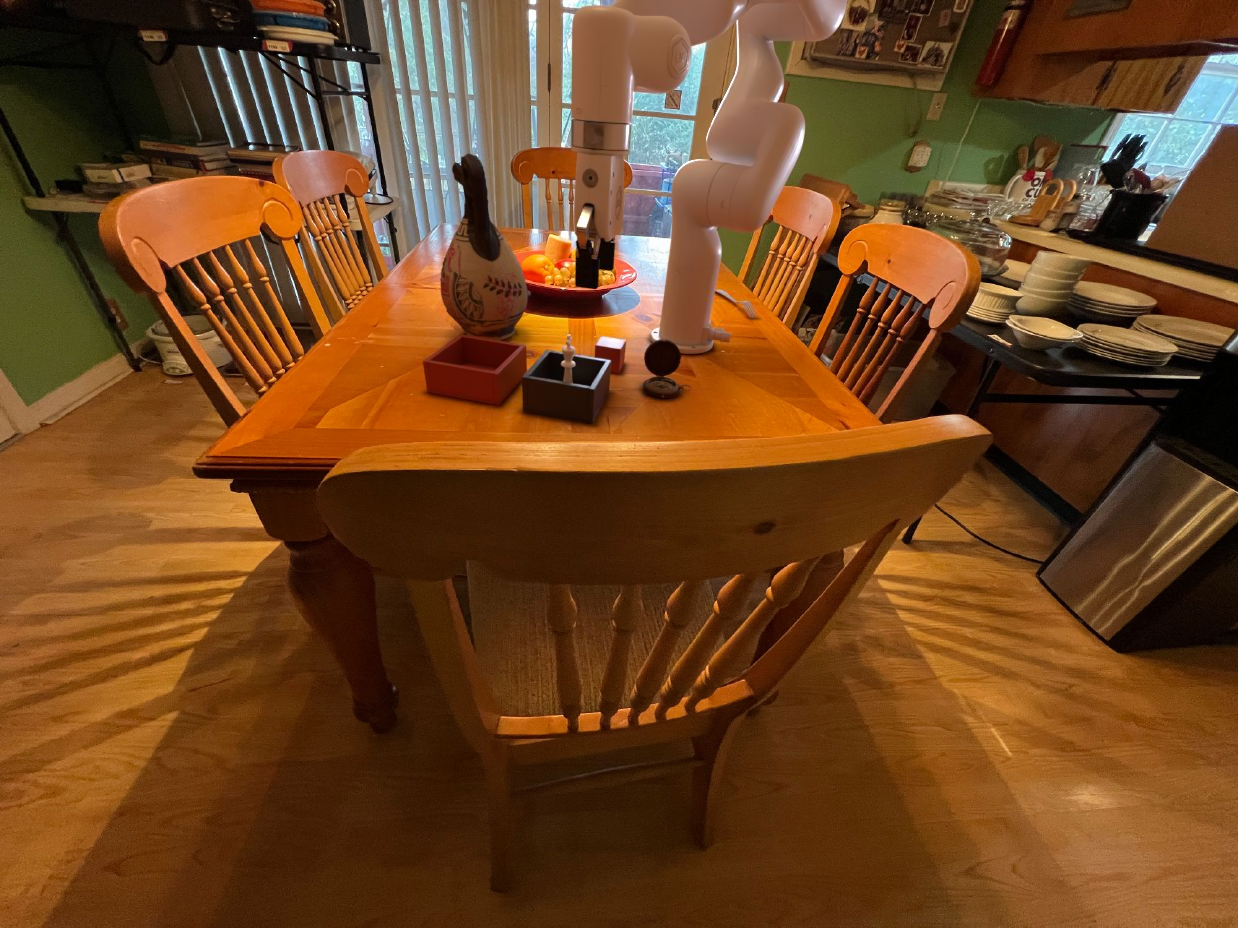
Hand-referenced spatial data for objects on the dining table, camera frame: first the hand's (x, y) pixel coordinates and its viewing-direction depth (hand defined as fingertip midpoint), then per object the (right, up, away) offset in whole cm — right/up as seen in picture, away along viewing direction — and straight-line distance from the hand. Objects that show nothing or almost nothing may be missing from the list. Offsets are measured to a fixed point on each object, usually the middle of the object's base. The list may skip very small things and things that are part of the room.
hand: (595, 278), depth 73 cm
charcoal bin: (-4, -18, +4) cm, 19 cm away
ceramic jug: (-22, -3, +23) cm, 32 cm away
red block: (+2, -10, +16) cm, 19 cm away
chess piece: (-4, -17, +4) cm, 18 cm away
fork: (+32, +13, +53) cm, 63 cm away
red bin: (-19, -14, +7) cm, 25 cm away
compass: (+11, -15, +11) cm, 21 cm away
